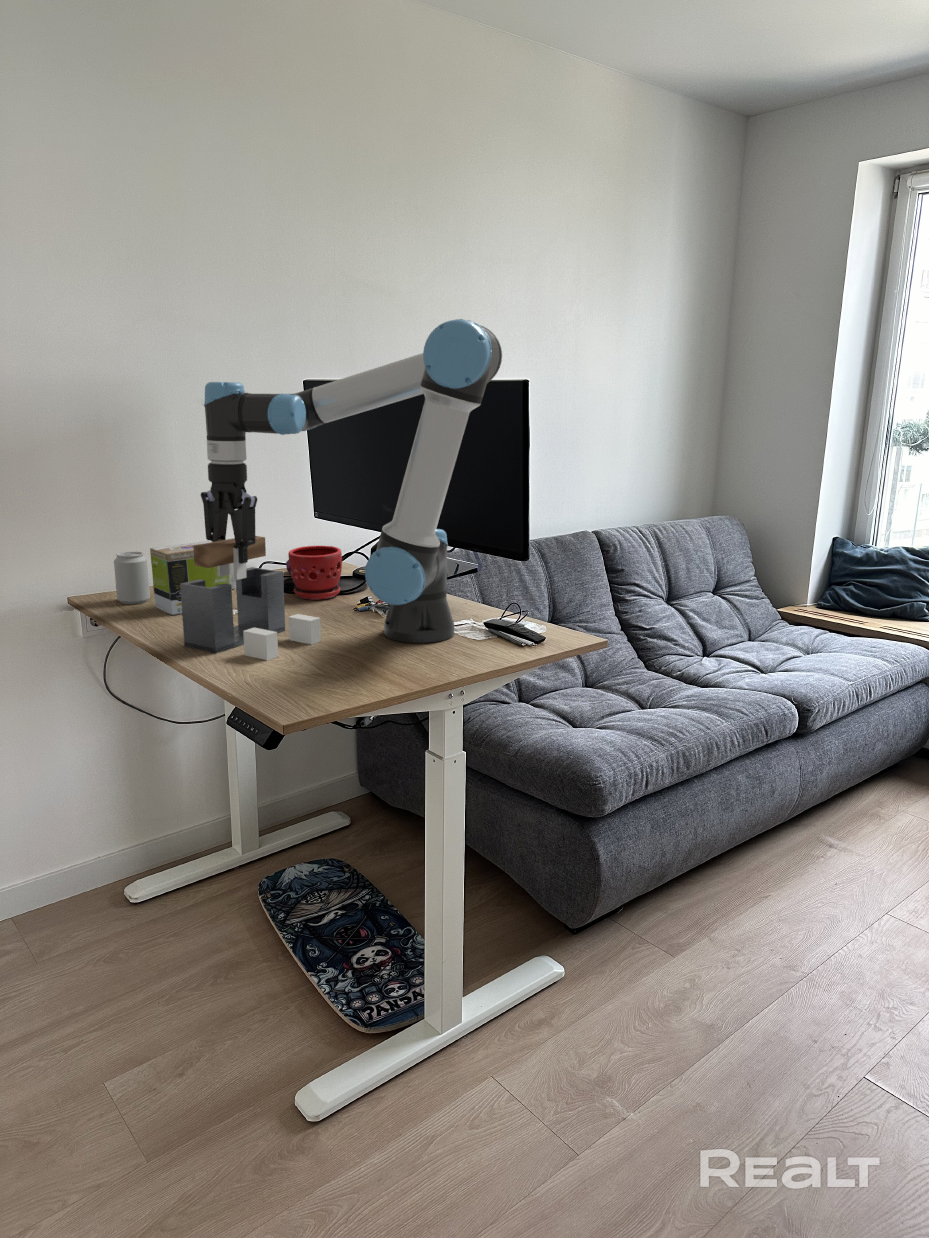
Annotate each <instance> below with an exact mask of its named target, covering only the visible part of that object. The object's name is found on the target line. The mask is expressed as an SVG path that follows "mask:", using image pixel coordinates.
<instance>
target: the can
mask: <svg viewBox="0 0 929 1238" xmlns="http://www.w3.org/2000/svg"><path fill="white" fill-rule="evenodd" d="M115 556H116V558H114V559H113V565H114V566H113V567H114V578H115V588H116V589H115V590H116V599H117V601H119V602H120V603H121V604H124V605H138V604H139V605H140V604H143V603H146V602H147V600H149V599H150V597H151V593H150V581H149V570H148V569H149V568H148V558H147V557H145V556H144V552H142V551H123V552H118V553H116V555H115Z"/></svg>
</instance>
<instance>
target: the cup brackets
mask: <svg viewBox="0 0 929 1238" xmlns="http://www.w3.org/2000/svg"><path fill="white" fill-rule="evenodd" d="M246 575H247V578H243V579H239V580H236V589H235V591H236V608H237V625H235V626H234V613H233V612H234V610H233V609H234V608H233V592H232V591H233V589H232V588H231V584H222V585H217V586H213V587H209V588H208V587H206V583H205V580H201V579H199V580H194V581H190V582H185V583H181V584H180V589H181V603H182V613H181V616H182V628H183V629H182V631H183V643H184V648H185V647H186V648H189V649H195V650H199V651H203V652H207V653H212V654H213V653H214V654H218V653H221V652H225V651H227V650H230V649H234V648H237V647H240V646H244V636H243V631H244V630H248V629H251V628H259V629H264V630H269V631H275V632H277V634H279V633H283V632H285V631H286V614H285V612H286V611H285V592H284V587H285V585H284V584H285V583H284V572H283V571H280V570H273V569H265V568H261V567H260V568H259V567H255V566H253V567H249V568H247V567H246Z"/></svg>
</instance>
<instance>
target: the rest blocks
mask: <svg viewBox="0 0 929 1238" xmlns="http://www.w3.org/2000/svg"><path fill="white" fill-rule="evenodd" d="M321 631H322V629H321V617H318V616H311V615H306V614H301V613H295V614H292V615H291V616H288V641H293V642H297V643H302V644H307V645H314V644H316V643H320V642H321V641H322V636H321V635H322V633H321ZM243 636H244V644H243V649H244V651H243V652H244V656H246V657H251V658H254V659H259V660H263V661H264V660H265V661H270V660H272V659H275V658H278V657H279V648H278V647H279V646H278V633H277V632H275V631H269V630H264V629H259V628H251V629H248V630H244V631H243Z"/></svg>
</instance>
